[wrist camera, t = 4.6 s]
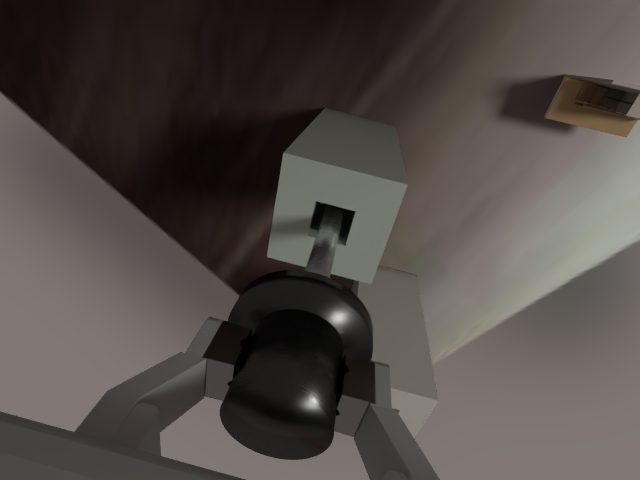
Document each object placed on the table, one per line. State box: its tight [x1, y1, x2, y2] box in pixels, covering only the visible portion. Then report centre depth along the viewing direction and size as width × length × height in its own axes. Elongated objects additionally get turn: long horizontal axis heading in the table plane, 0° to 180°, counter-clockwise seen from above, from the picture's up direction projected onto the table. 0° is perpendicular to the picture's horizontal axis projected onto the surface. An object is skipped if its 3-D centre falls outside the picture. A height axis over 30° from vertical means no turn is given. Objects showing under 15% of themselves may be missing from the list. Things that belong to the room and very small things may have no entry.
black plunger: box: [220, 201, 373, 460], centre depth 17 cm, size 5×5×18 cm
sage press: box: [267, 108, 408, 284], centre depth 28 cm, size 7×7×17 cm
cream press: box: [351, 265, 438, 438], centre depth 35 cm, size 7×7×17 cm
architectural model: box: [544, 74, 640, 137], centre depth 27 cm, size 3×7×7 cm, turn 79°
